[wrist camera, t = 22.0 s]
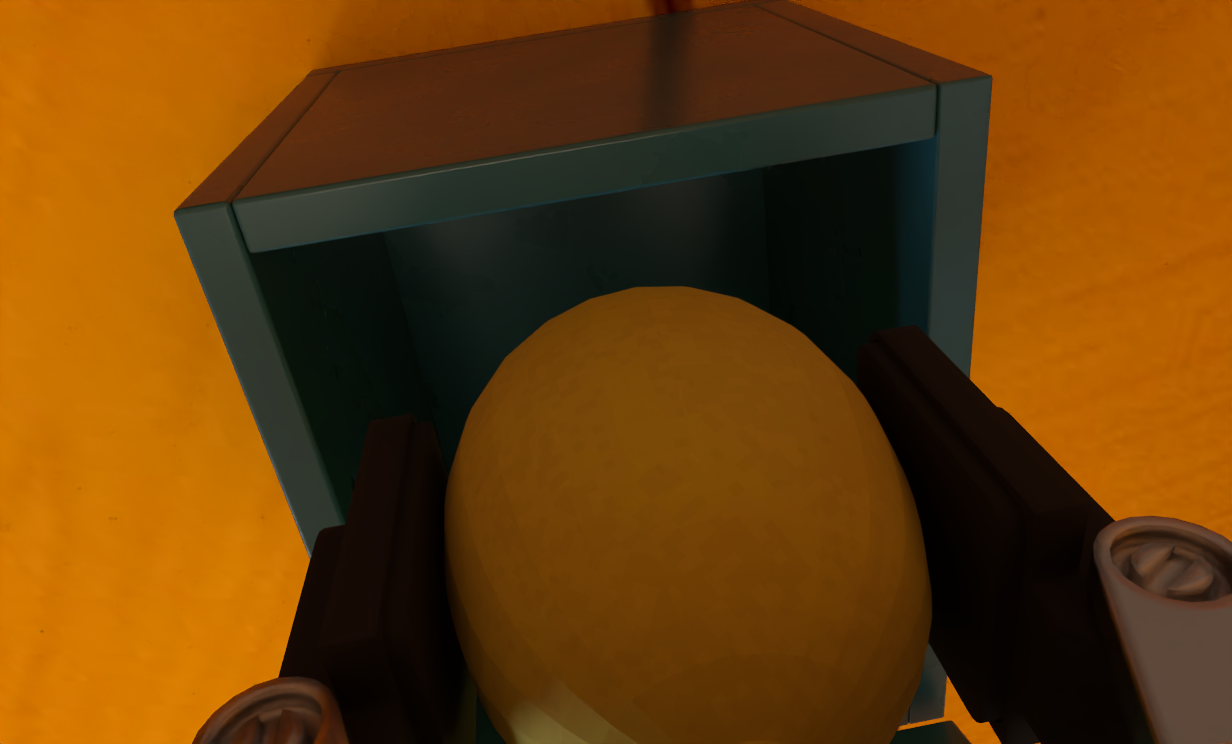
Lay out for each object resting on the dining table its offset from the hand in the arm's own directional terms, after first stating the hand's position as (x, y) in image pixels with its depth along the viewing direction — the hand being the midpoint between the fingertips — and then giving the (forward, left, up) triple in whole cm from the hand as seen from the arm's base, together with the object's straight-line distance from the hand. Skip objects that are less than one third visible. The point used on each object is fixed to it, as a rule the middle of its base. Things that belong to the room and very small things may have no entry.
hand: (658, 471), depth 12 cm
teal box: (+3, +1, -13) cm, 14 cm away
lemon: (0, 0, -3) cm, 3 cm away
